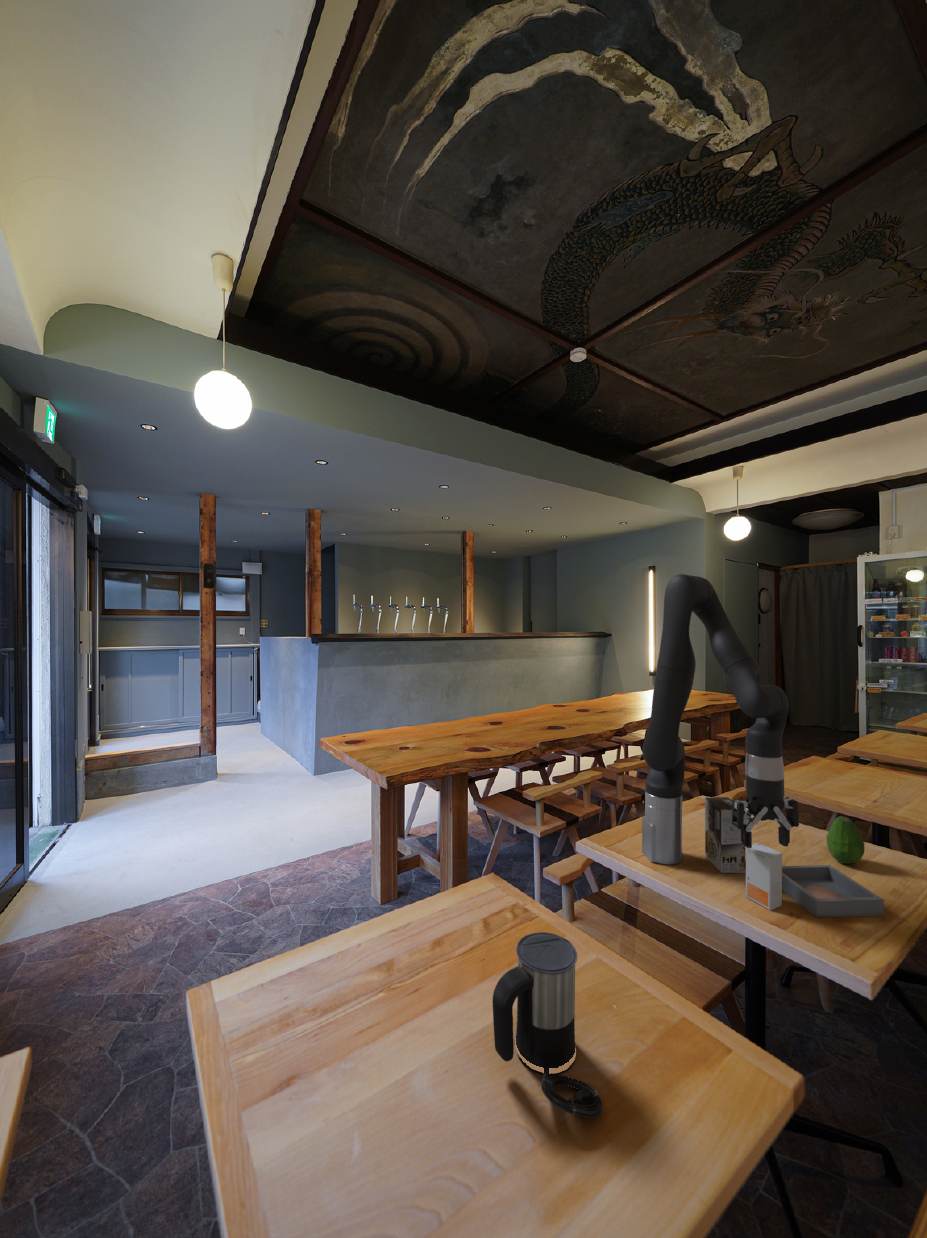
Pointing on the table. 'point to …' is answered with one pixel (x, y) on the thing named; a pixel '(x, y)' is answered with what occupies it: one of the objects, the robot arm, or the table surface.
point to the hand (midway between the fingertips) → (765, 845)
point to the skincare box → (764, 876)
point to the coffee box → (723, 836)
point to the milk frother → (543, 1016)
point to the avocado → (845, 841)
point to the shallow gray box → (829, 892)
